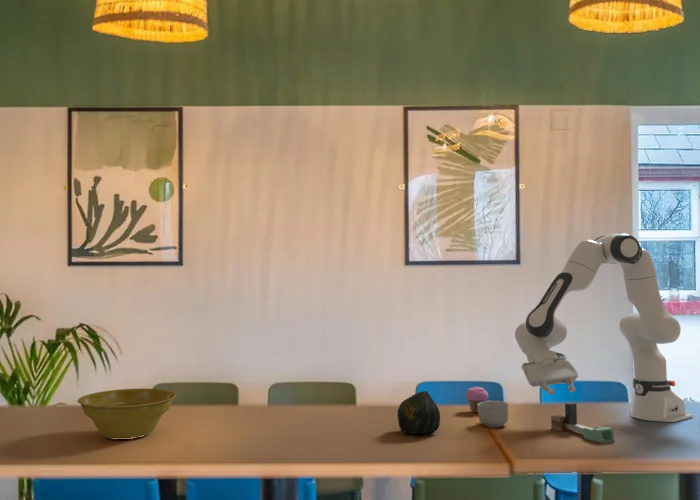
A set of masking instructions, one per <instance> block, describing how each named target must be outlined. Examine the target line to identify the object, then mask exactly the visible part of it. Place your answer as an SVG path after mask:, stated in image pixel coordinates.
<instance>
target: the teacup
mask: <svg viewBox="0 0 700 500" xmlns="http://www.w3.org/2000/svg"><path fill="white" fill-rule="evenodd" d="M477 406H478V413H477V414H478V419H479V422H480V423H481V424H482V425H484V426H485V427H486V428H501V427H504V426H505V424H507V423H508V420H509V403H508V402H505V401H502V400H489V399H487V400H486V401H484V402H480V403H478V404H477Z"/></svg>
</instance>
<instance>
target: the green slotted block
mask: <svg viewBox="0 0 700 500" xmlns="http://www.w3.org/2000/svg"><path fill="white" fill-rule="evenodd" d="M589 428H590V427H589ZM589 428H584V434H583V439H584V440H588V441H591V442H594V443H597V444H606V443H607V444H608V443H613V442H615V430H614V429H613V428H611V427H608V426H605V427H602V426H598V425H597V426H595V428H593V430H592V429H589Z"/></svg>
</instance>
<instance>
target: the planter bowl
mask: <svg viewBox="0 0 700 500" xmlns="http://www.w3.org/2000/svg"><path fill="white" fill-rule="evenodd" d="M176 397H177V393H176V392H174V391H171V390H167V389H163V388H161V389H160V388H125V389H124V388H121V389H114V390H113V389H112V390H111V389H110V390H104V391H99V392H94V393H90V394H86V395H83V396H81V397H79V398H78V399H77V403H78V404H79V405H81V409H82V412H83V413H84V415H86V416H87V417H89V418H90V419H91V420H92V422H93V424H94V426H95V427H96V429H97V431H98V432H99V434H101V436H103V437H105V438H106V437H109V438H131V437H138V436H142V435H146V434H149V435H150V434H151V433H152V432H153V431H155V429H156V428H157V426H158V424H159V423H160V421H161V418H162V416H163V415H164V414H165V412H167V411H168V410H170V408H171V405H172V404H173V401H174V399H175V398H176Z"/></svg>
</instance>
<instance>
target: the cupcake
mask: <svg viewBox="0 0 700 500" xmlns="http://www.w3.org/2000/svg"><path fill="white" fill-rule="evenodd" d="M465 398H466V399H467V400H468V402H469V403H468V404H469V410H470V411H471V412H472V413H475V414H478V406H477V404H478V403H480V402H484V401H488V400H489V393H488V391H487V390H486V389H485V388H484V387H480V386H472V387H469V388H468V389H467V390H466V393H465Z"/></svg>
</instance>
